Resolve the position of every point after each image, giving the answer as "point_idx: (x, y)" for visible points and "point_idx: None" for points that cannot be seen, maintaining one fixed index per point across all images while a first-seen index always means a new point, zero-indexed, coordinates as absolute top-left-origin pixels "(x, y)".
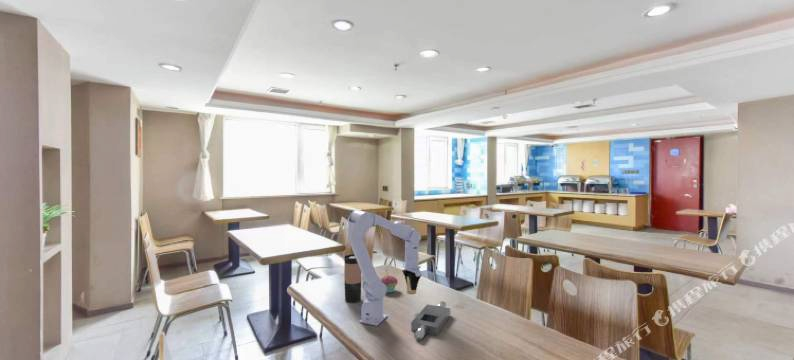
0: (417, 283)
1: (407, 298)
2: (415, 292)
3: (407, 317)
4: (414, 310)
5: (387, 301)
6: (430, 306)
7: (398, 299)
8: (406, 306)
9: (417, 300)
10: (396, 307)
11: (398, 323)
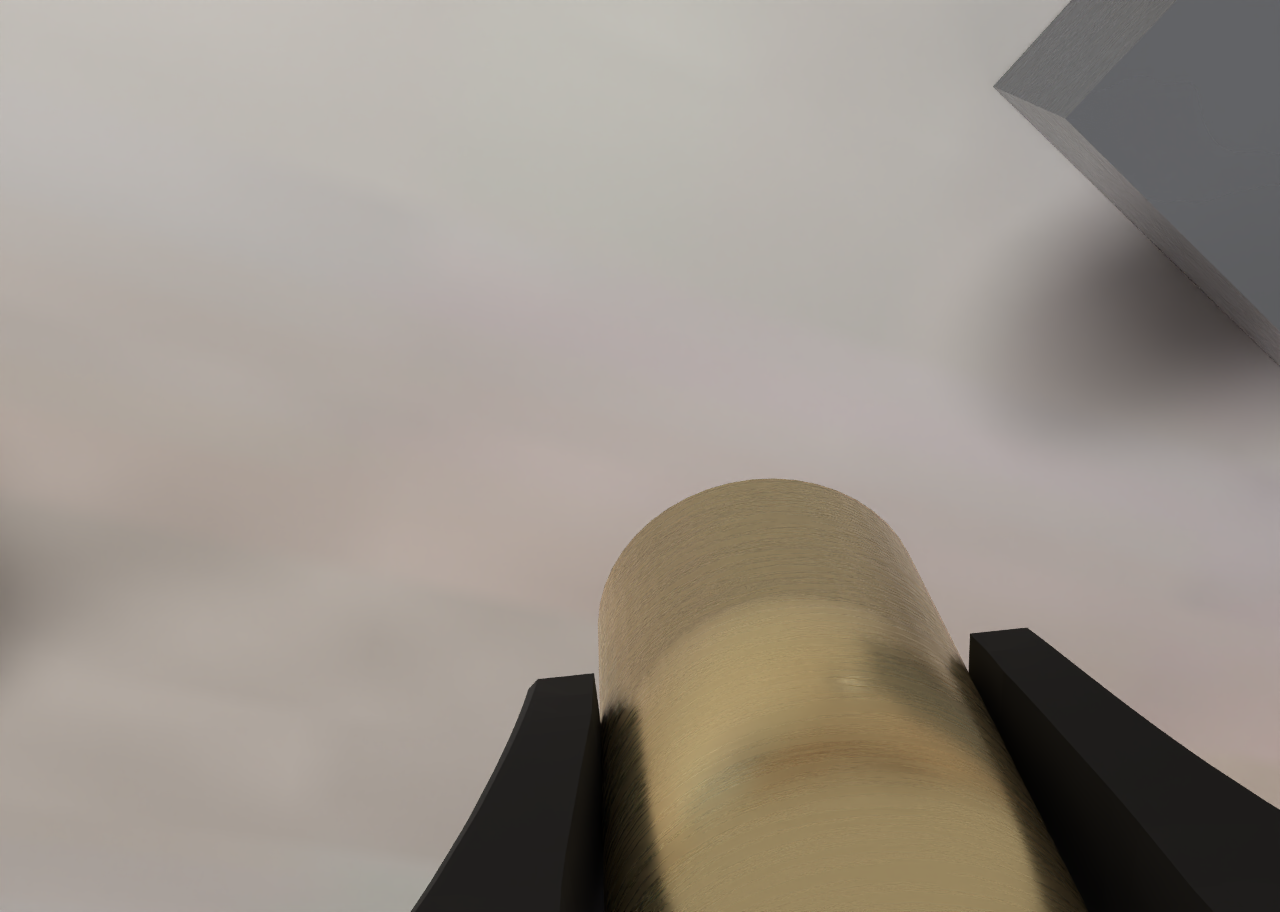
0: (1220, 785)
1: (40, 325)
2: (905, 557)
3: (1085, 591)
4: (822, 368)
5: (196, 772)
6: (1248, 73)
7: (96, 547)
8: (551, 477)
9: (213, 96)
10: (552, 676)
11: (1231, 777)
